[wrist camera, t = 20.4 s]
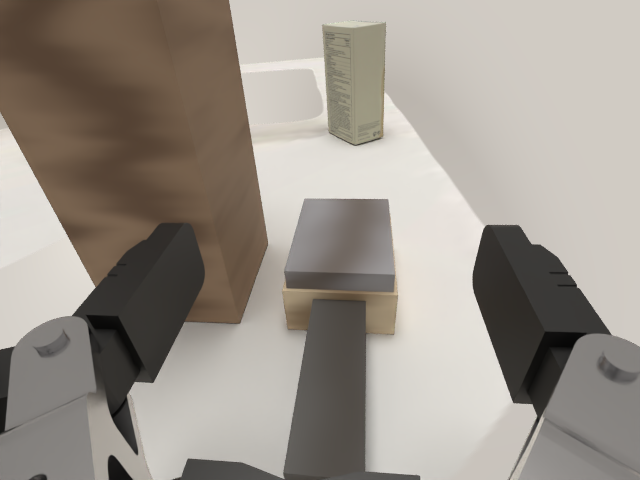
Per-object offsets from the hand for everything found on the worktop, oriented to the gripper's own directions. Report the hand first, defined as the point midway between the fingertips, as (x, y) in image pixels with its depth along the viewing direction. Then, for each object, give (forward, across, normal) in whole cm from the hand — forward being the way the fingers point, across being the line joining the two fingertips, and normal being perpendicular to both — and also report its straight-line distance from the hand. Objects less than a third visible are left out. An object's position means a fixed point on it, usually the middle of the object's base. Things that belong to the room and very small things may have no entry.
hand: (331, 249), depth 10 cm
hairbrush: (+5, 0, +10) cm, 11 cm away
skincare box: (+37, 0, +10) cm, 38 cm away
